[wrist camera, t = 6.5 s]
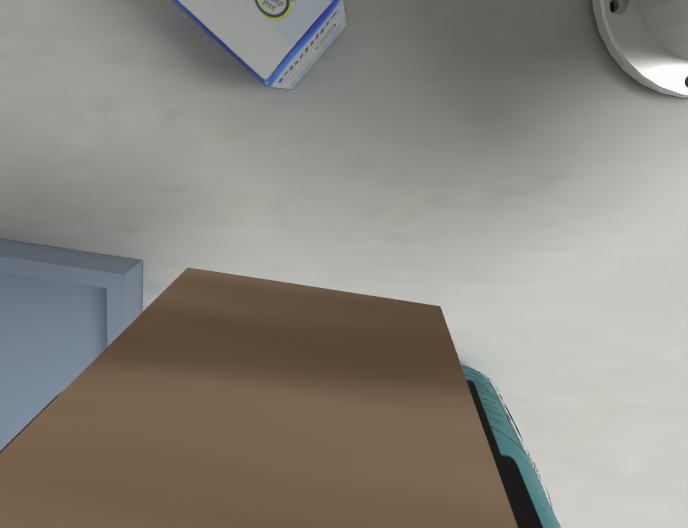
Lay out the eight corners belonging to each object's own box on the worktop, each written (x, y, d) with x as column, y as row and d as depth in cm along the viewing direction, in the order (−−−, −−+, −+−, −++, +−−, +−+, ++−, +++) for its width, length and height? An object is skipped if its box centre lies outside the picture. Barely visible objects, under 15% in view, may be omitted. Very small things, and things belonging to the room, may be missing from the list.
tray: (-122, 220, 29) (-164, 231, 27) (142, 260, 30) (124, 274, 27) (-77, 481, 36) (-108, 508, 33) (139, 511, 36) (124, 540, 34)
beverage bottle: (377, 371, 32) (403, 779, 13) (472, 330, 31) (655, 711, 12) (419, 445, 33) (497, 897, 15) (510, 409, 32) (722, 849, 13)
